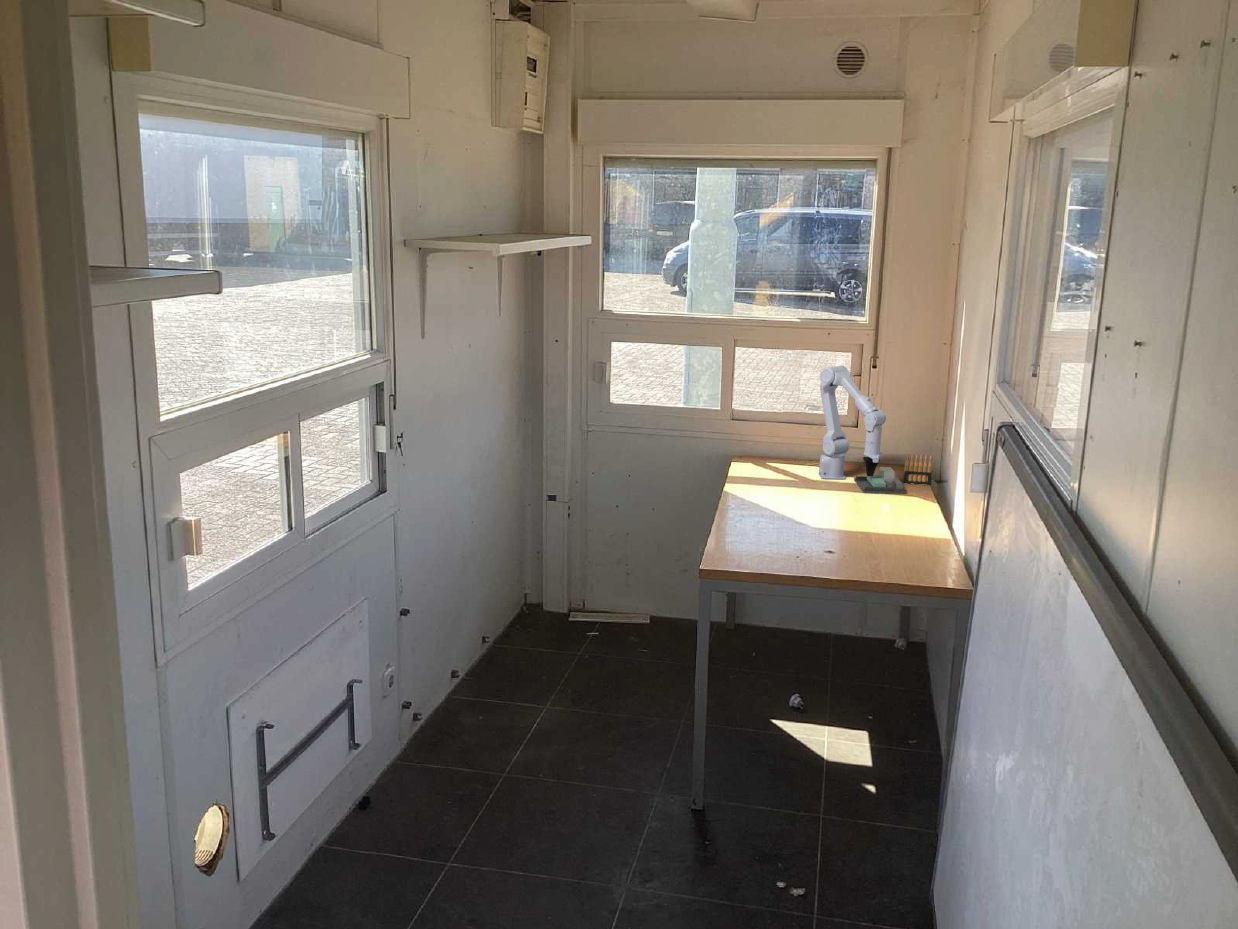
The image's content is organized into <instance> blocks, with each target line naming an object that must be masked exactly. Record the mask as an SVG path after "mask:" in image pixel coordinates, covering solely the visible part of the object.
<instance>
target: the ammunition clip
mask: <svg viewBox="0 0 1238 929" xmlns="http://www.w3.org/2000/svg"><path fill="white" fill-rule="evenodd" d="M923 460H924V461H923ZM932 471H933V455H932V454H930V456H929V458H928V454H925V456H924V458H923V454H922V453H921V454H920V456H919V455H918V453H917V454H915V458H914V454H913V453H911V455H909V453H907V454H906V456H905V461H904V466H903V478H902V484H903V483H907V485H912V484H911V483H914V484H913V485H919V484H927V485H926V486H931V485H932Z"/></svg>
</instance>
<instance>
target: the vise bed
mask: <svg viewBox="0 0 1238 929" xmlns="http://www.w3.org/2000/svg"><path fill="white" fill-rule="evenodd" d="M853 481H854V482H855V484H856V485H857V487H858V488H859V489H860V490H861V491H862V492H863V494H879V493H885V494H886V495H887V494H889V495H891V494H892V495H893V494H894V495H896V494H897V495H907V490H906V489H905V487H904V486H903V481H901V480H900V479H899V478H898V477H897V476H896V475H895V474H894V486H893V487H873V486H872V485H871V483H870V482H869V481H868V480H867V475H864V476H863V475H855V477H854V478H853Z"/></svg>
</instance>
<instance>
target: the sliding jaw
mask: <svg viewBox="0 0 1238 929" xmlns="http://www.w3.org/2000/svg"><path fill="white" fill-rule="evenodd" d="M866 476H867V475H866ZM867 480H868V481H869V482H870V483H871V485H872V486H873V487H886V483H885V482H884V481H883V480H882V479H881V477H880V476H879V474H878V473H874V475H873V476H867Z"/></svg>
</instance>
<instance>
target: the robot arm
mask: <svg viewBox="0 0 1238 929" xmlns="http://www.w3.org/2000/svg"><path fill="white" fill-rule="evenodd" d="M819 379H820V386H819V390H820V391H819V392H820V397H821V398H820V399H821V402H822V409H823V415H824V422H825V429H826V432H825V435H824V436H823V438H822V450H823V453H824V454H821V455H820V456H819V467H818V468H819V470H818V475H819V477H820V478H821V479H824V480H827V479H828V480H829V479H830V480H847V478H846V476H845V475H844V473H845V472H844V471H845V470H844V468H845V456H846V454H847V452H848V451H849V449H850V442H849V440H848V438H847V434H846V433H845V432H844V431H843V430H842V428H841V421H840V416H839V409H838V404H837V398H836V390H837V389H838V387H843V389H844V390H845V391H846V392H847V393H848V394H849V395H850V397H851V398H852V399H853V400H854V406H855V408H857V410H858V411H859V413H860V414H861V415H862V416H863V423H864V425H865V427H864V428H865V440H864V441H865V442H864V451H863V455H864V457H862V459H863V462H864V466H865V472H866V476H873V475H874V474H875V471H876V469H877V467H878V464H879V463H880V456H883V455H884V454H883V452H881V441H882V440H881V439H882V431H883V425H884V424H885V422H886V421H887V418H886V417H887V416H886V413H885V412H884V411H883V410H882V409H879V408H877V406H875V404H874V403H873V401H871V397H870V396H867V395H865V394H864V395H863V394H862V392H861V391H860V390H859V388H858V386H857V384H856V383H855V381H854V380H853V379H852V377H851V372H850V371H849V370H848V368H847V367H846V366H845V365H839V366H838V365H837V366H830V367H824V368H823V369H822V370H821V371H820V373H819Z"/></svg>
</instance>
